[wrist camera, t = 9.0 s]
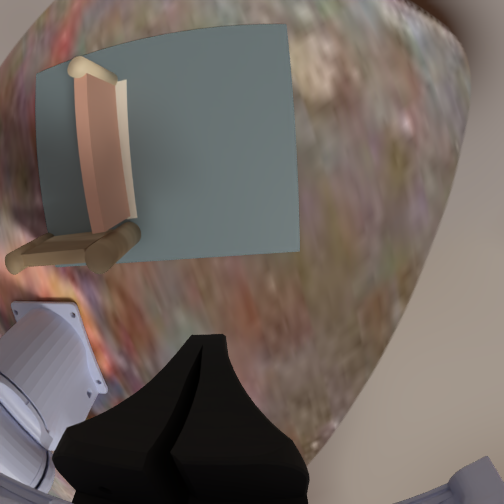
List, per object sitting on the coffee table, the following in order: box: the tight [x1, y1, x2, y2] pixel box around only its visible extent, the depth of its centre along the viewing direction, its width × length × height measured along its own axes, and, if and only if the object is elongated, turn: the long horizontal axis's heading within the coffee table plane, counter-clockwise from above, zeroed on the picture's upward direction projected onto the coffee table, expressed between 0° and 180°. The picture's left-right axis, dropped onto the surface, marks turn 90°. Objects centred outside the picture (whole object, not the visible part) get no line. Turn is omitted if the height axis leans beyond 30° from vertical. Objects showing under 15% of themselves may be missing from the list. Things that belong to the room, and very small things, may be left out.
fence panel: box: [67, 56, 131, 234], centre depth 15 cm, size 10×1×4 cm, turn 6°
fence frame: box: [5, 222, 141, 275], centre depth 17 cm, size 2×8×5 cm, turn 94°
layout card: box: [35, 24, 300, 267], centre depth 18 cm, size 15×18×1 cm
